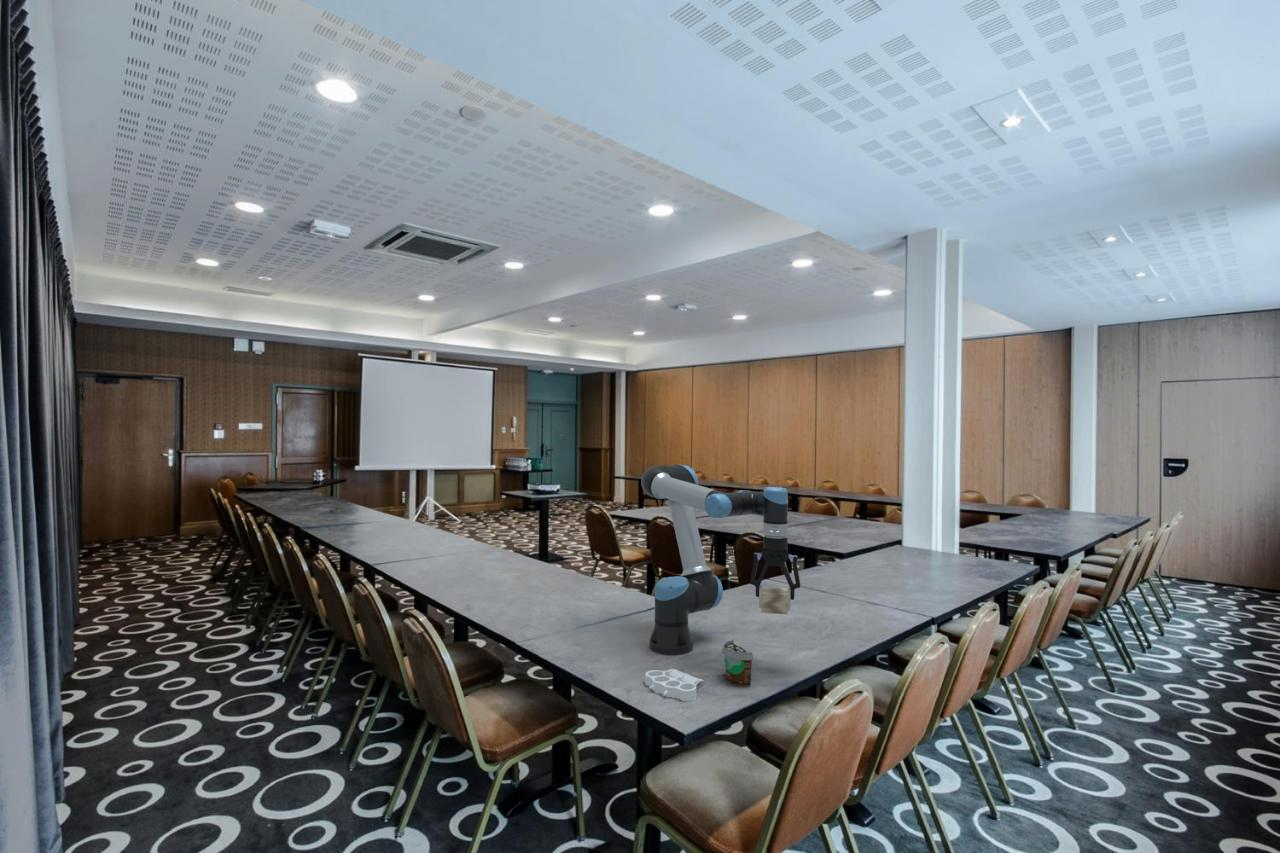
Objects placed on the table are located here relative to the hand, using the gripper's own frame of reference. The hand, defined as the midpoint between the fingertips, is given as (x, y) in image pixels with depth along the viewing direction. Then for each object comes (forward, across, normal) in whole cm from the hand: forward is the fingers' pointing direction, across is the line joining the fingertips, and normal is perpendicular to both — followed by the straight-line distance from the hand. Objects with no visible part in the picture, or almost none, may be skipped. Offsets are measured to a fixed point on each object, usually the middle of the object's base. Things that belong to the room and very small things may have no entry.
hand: (774, 608), depth 192 cm
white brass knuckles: (+20, -27, -24) cm, 41 cm away
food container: (+19, -11, -13) cm, 26 cm away
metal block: (0, 0, 0) cm, 1 cm away
